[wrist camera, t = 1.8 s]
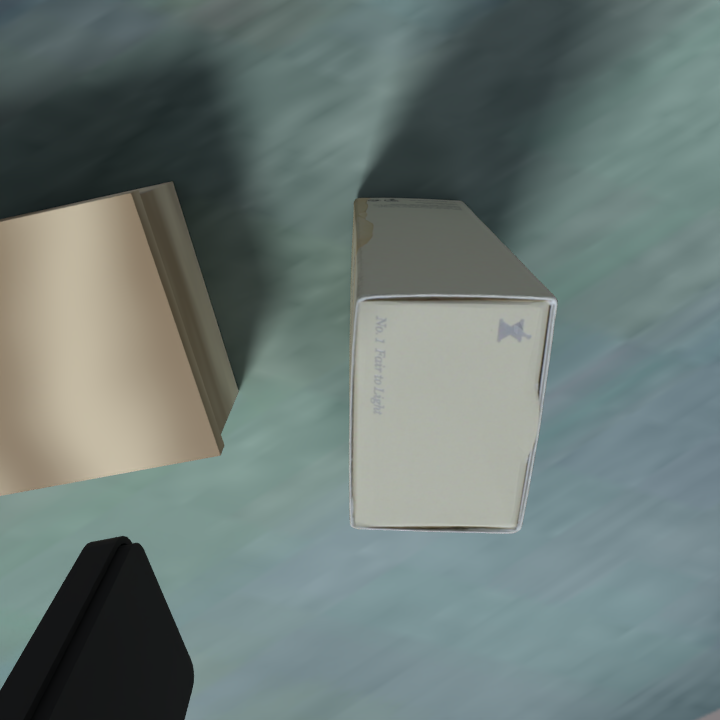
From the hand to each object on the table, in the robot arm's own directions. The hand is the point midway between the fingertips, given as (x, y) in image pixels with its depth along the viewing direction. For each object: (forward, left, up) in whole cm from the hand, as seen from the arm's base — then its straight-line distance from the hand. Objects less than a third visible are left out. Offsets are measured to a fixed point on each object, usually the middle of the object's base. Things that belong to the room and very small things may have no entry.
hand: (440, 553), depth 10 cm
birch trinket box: (+13, -1, -16) cm, 21 cm away
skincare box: (-1, 0, -17) cm, 17 cm away
